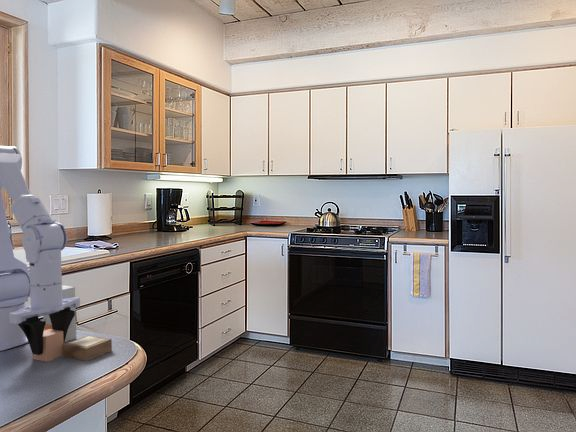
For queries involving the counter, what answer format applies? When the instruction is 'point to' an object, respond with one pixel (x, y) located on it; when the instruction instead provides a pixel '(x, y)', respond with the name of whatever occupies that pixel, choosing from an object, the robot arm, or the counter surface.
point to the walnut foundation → (87, 347)
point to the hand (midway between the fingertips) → (48, 349)
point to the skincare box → (69, 293)
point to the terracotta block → (51, 345)
